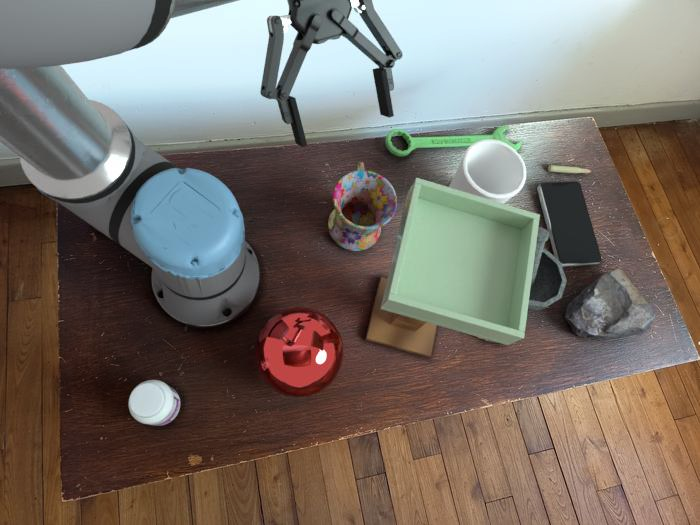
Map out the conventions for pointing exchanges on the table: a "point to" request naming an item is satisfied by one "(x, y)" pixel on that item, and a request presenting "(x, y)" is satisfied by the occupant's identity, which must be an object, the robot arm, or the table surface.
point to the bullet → (567, 169)
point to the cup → (490, 171)
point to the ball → (298, 352)
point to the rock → (610, 309)
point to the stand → (399, 328)
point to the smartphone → (569, 223)
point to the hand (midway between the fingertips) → (345, 129)
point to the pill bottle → (154, 403)
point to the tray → (463, 263)
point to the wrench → (443, 141)
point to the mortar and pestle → (545, 276)
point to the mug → (361, 209)
